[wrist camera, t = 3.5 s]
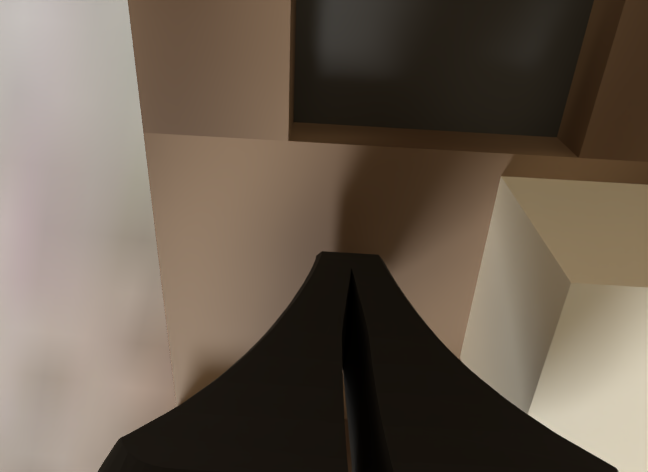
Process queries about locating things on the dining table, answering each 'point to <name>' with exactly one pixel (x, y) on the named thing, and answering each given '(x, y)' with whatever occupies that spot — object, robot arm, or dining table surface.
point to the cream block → (568, 312)
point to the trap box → (364, 144)
